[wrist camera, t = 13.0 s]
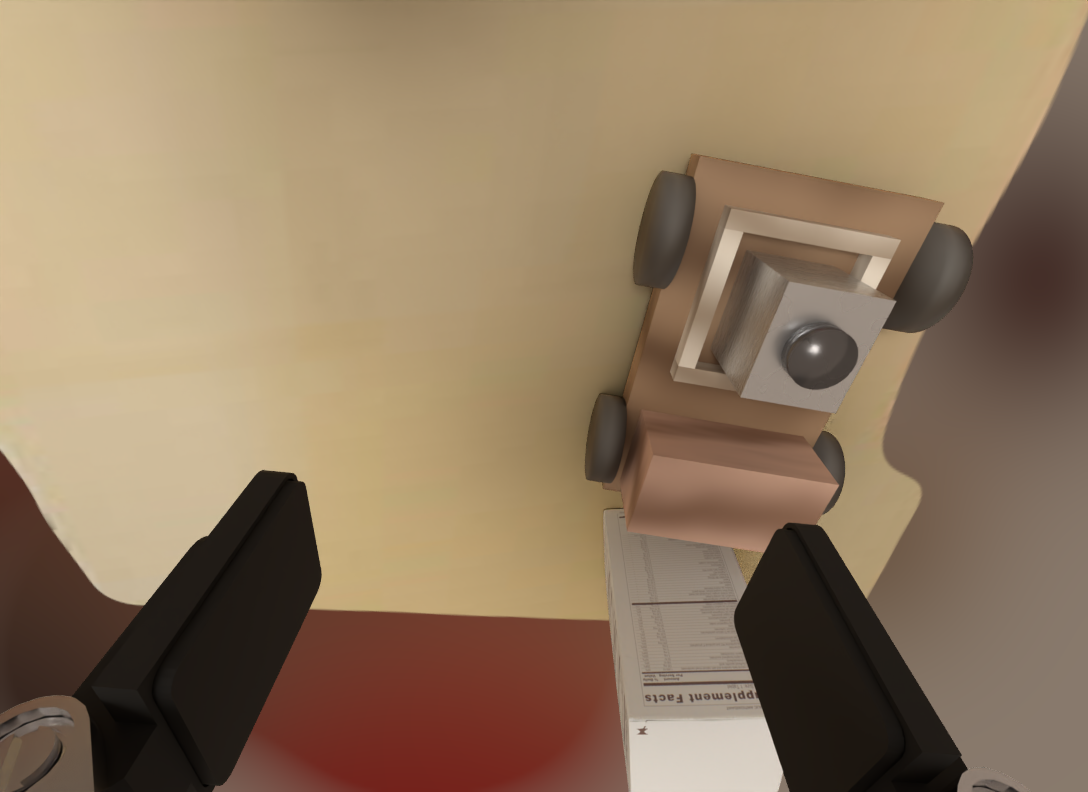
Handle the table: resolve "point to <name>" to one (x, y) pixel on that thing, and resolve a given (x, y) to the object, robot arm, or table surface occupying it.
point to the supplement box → (683, 667)
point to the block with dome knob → (797, 331)
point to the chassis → (699, 380)
